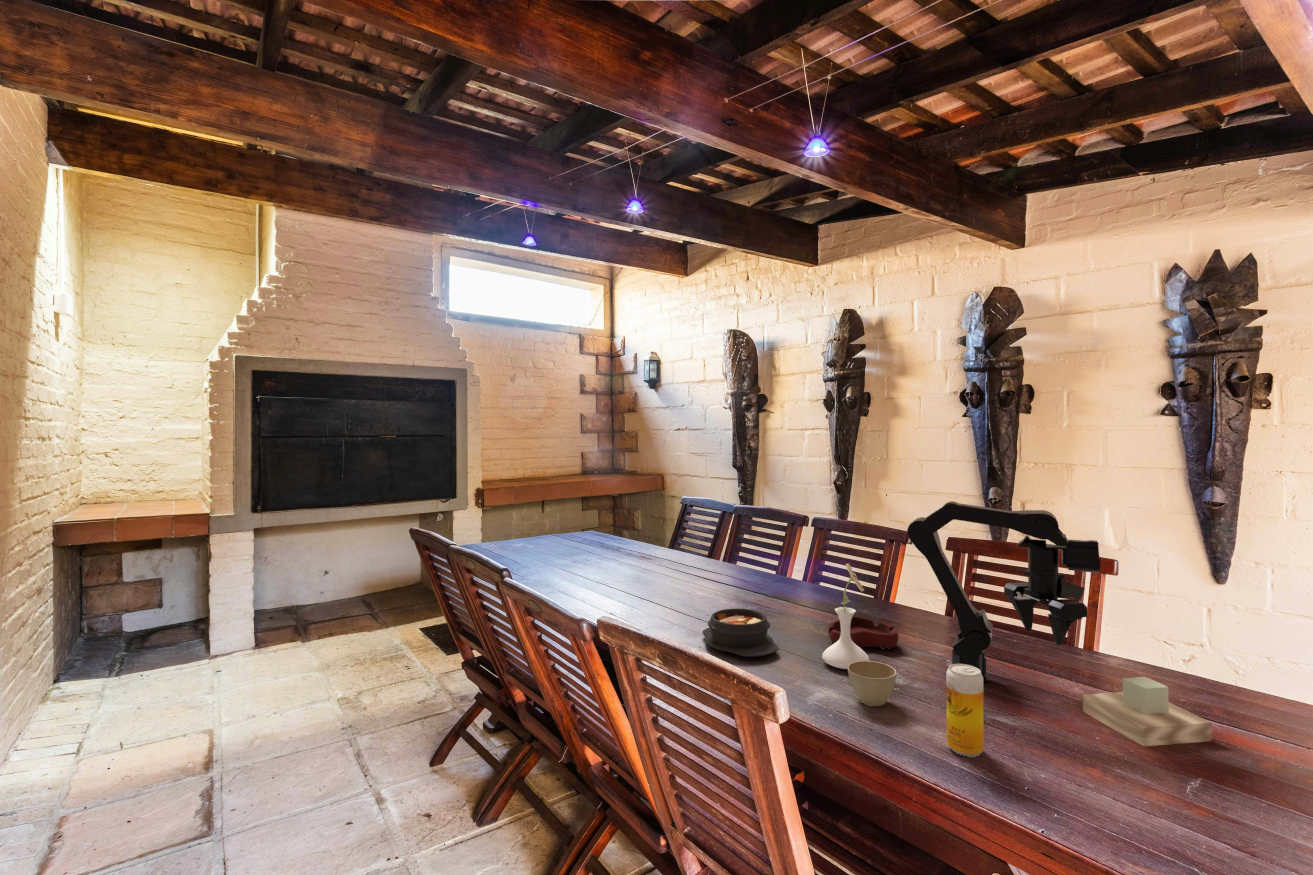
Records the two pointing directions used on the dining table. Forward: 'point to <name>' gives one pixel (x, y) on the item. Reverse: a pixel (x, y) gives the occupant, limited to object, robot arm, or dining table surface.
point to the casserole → (740, 632)
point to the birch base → (1147, 721)
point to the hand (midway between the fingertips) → (1043, 637)
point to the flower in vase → (845, 635)
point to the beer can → (965, 710)
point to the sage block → (1145, 695)
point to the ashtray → (866, 633)
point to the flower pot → (872, 681)
